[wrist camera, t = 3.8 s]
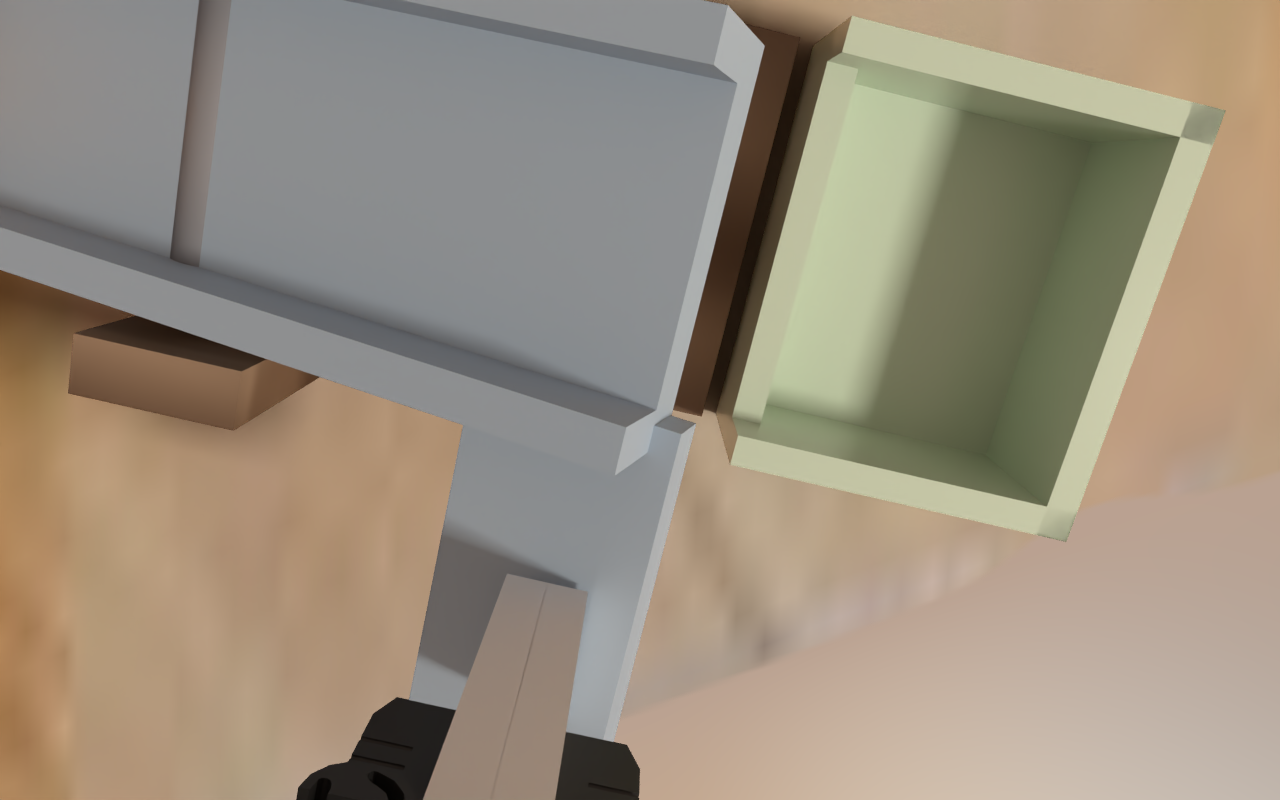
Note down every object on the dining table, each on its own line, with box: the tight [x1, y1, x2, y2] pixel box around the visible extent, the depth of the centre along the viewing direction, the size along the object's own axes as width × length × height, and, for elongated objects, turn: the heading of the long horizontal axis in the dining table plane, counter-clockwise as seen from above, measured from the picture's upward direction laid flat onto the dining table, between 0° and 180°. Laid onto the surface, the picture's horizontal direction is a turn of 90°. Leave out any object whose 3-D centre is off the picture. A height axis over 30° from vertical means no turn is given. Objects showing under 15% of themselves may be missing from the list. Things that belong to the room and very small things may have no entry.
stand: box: [68, 24, 800, 431], centre depth 22 cm, size 11×23×11 cm, turn 77°
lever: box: [0, 0, 765, 742], centre depth 18 cm, size 14×20×4 cm
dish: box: [716, 16, 1226, 542], centre depth 25 cm, size 11×9×5 cm
